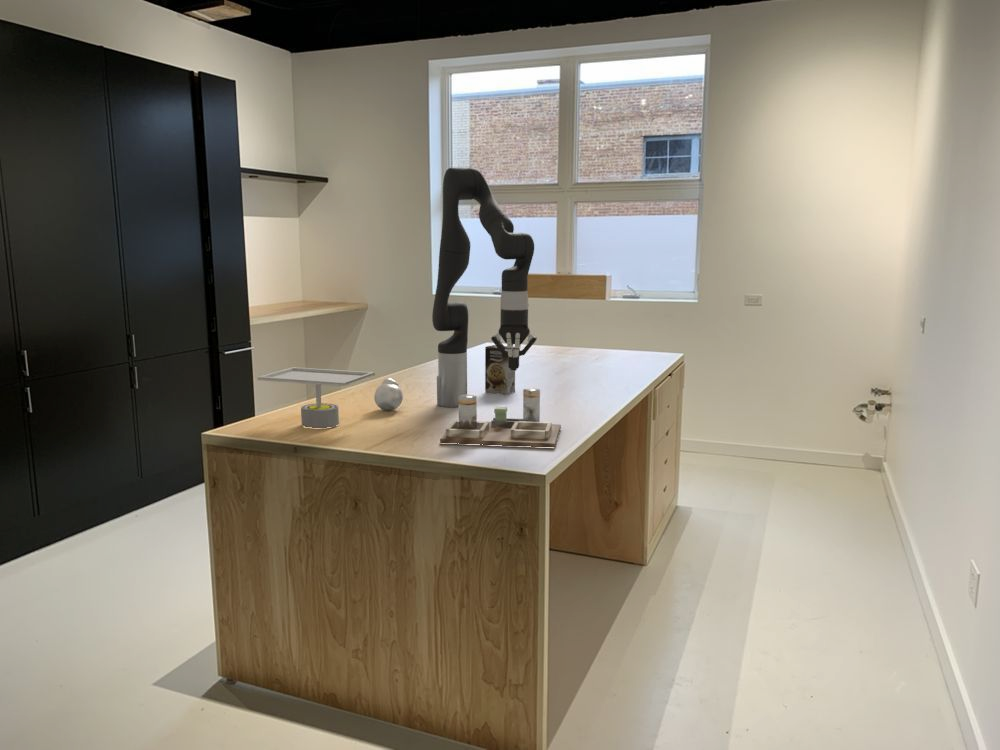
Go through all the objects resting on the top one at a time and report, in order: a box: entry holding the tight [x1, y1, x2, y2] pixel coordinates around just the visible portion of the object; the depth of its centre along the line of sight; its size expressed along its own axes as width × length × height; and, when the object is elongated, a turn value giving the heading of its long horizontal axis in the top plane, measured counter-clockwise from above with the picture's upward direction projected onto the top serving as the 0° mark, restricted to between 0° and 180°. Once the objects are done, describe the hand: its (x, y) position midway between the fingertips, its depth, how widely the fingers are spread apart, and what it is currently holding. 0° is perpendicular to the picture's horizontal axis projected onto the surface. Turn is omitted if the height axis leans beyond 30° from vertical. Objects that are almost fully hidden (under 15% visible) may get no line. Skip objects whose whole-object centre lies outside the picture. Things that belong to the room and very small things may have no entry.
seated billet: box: [458, 394, 478, 430], centre depth 200 cm, size 5×5×10 cm
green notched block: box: [493, 406, 508, 421], centre depth 209 cm, size 3×3×5 cm
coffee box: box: [484, 344, 516, 395], centre depth 260 cm, size 9×6×16 cm
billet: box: [522, 387, 541, 422], centre depth 217 cm, size 5×5×10 cm
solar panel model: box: [256, 366, 376, 428], centre depth 214 cm, size 28×17×15 cm, turn 71°
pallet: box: [439, 417, 562, 448], centre depth 203 cm, size 30×20×4 cm, turn 81°
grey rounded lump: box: [373, 377, 404, 412], centre depth 234 cm, size 9×10×10 cm
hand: (513, 369), depth 206 cm, fingers closed
